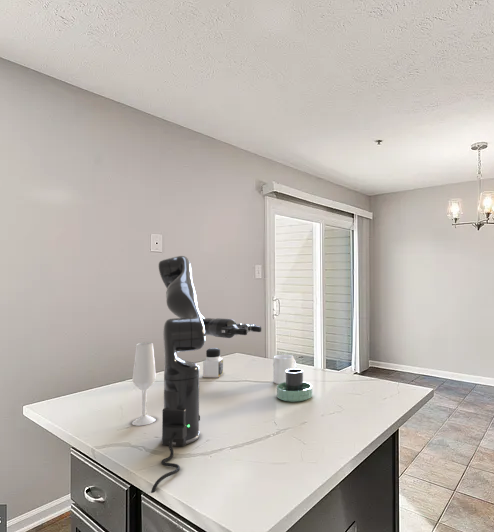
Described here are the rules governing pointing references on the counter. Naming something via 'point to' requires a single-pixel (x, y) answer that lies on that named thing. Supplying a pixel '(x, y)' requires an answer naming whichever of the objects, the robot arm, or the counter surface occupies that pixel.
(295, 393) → the bowl
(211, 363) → the medicine bottle
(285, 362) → the mug
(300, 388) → the cup
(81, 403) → the counter surface
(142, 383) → the champagne flute
